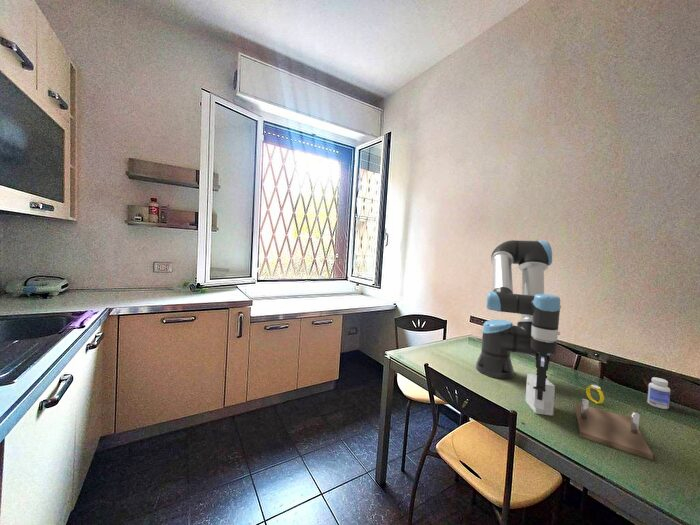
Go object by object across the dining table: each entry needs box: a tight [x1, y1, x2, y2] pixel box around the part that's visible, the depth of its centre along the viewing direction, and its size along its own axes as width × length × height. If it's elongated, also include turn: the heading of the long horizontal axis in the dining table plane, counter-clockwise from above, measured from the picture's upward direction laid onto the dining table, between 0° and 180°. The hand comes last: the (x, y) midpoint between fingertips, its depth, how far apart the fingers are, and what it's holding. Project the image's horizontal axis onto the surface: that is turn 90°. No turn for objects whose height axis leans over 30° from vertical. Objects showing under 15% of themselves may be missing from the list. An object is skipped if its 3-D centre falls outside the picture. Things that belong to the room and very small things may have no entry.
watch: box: [585, 384, 605, 405], centre depth 102 cm, size 6×3×6 cm, turn 2°
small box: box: [525, 373, 556, 417], centre depth 96 cm, size 8×6×10 cm
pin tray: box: [573, 398, 654, 461], centre depth 86 cm, size 15×20×8 cm
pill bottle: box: [646, 376, 671, 410], centre depth 101 cm, size 5×5×10 cm
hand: (539, 401), depth 96 cm, fingers closed on small box, 9 cm apart
